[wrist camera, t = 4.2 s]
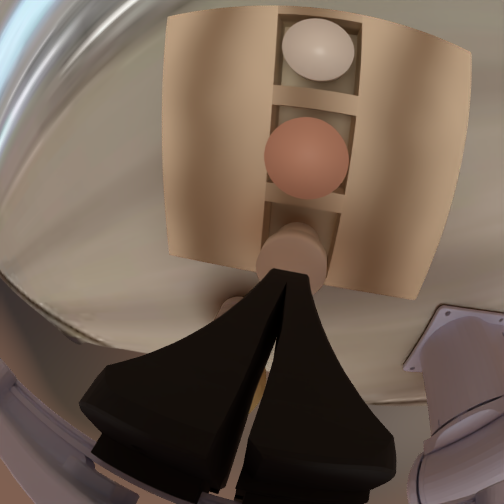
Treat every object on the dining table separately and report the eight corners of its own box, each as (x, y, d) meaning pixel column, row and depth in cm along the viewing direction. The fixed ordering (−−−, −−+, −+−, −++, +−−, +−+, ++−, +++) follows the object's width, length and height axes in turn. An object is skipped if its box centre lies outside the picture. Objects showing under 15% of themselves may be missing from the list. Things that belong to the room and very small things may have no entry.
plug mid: (347, 122, 11) (354, 124, 8) (338, 186, 12) (341, 205, 10) (278, 112, 11) (266, 112, 9) (273, 176, 13) (261, 192, 11)
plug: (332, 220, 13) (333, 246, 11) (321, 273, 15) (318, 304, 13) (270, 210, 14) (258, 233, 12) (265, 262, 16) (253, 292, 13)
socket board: (449, 59, 9) (471, 52, 7) (405, 273, 17) (415, 300, 14) (191, 27, 12) (167, 16, 10) (189, 234, 20) (169, 254, 17)
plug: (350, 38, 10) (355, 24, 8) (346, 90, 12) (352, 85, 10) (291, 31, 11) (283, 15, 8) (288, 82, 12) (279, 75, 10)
